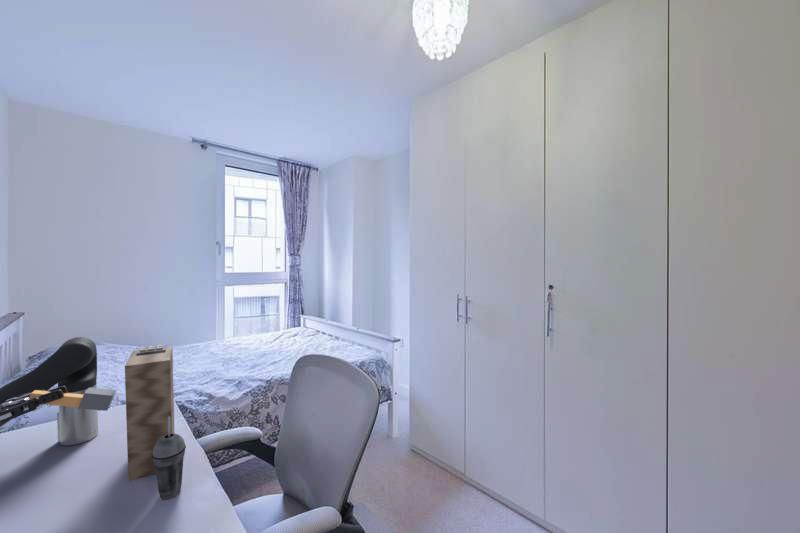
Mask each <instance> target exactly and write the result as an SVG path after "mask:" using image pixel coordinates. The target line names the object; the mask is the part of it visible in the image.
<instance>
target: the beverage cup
mask: <svg viewBox="0 0 800 533" xmlns="http://www.w3.org/2000/svg"><path fill="white" fill-rule="evenodd" d="M186 448H187V446H186V443H185V439H184V438H183V437H182V436H181V434H178V433H175V434H174V433H172V434H170V416H169V417H168V434H167V435H165V436H163V437H162V438H160V439H159V440H158V441H157V443H156V444H155V446H154V448H153V453H152V458H153V461H154V464H155V469H156V475H155V476H156V482H157V488H158V494H159V499H160V498H161V499H162V501H169V500H172V499H175V498H177V496H179V495H180V493H181V491H182V490H181V489H182V485H183V484H182V483H183V470H184V469H183V468H184V459H185V458H184V457H185V453H186ZM161 499H160V500H161Z"/></svg>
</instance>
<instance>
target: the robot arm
mask: <svg viewBox="0 0 800 533" xmlns="http://www.w3.org/2000/svg"><path fill="white" fill-rule="evenodd" d="M97 375H98V350H97V345H96V344H95V342H94V341H93V340H92V339H90V338H88V337H84V336H79V337H73V338H70V339H68V340H66V341H65V342H63V343H62V344H61V346H59V348H57V350H56V351H55V352H54V353H52V354H51V355H50V356H49V357H48V358H47V359H45V360H44V361H43V362H42V363H40V364H39V365H38V366H37V367H35V368H33V369H32V370H31V371H29V372H28V373H26V374H24V375H22V376H20V377H18V378H15V379H14V380H12V381H10V382H9V383H6V384H4V385H3V386H1V387H0V428H1V427H3V426H4V425H6V424H7V423H8V422H10V421H11V420H14V419H16V418H18V417H21V416H23V415H26V414H29V413H31V412H34V411H35V410H37V409H38V408H41V407H42V406H43V405H45V403H49V402H52V401H55V400H58V399H61V398H62V397H63V396H64V394H63V393H73V394H84V393H85V392H86V390H87V389H88V388H89V387H90V388H98V385H97V384H98V383H97V379H98V378H97V377H98V376H97ZM55 385H57V387H55V388H52V387H54V386H55ZM51 388H52V389H51ZM35 390H40V391H50V393H47V394H44V395H41V397H40V396H36V397H33V398H30V395H31V393H32V392H33V391H35ZM29 398H30V399H29ZM43 403H44V404H43ZM78 408H79V407H71V406H58V412H57V413H56V423H57V426H56V428H57V442H59V443H60V445H61V446H66V447H67V446H74V445H79V444H82V443H86V442H88V441H90V440H92V439H94V438H95V437H97V436H98V434H99V413H98V412H99V410H90V409H78Z"/></svg>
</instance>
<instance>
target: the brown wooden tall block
mask: <svg viewBox="0 0 800 533" xmlns="http://www.w3.org/2000/svg"><path fill="white" fill-rule="evenodd" d="M173 354H174V353H173V345H169V346H167V344H157V345H151V346H141V347H140V348H139V347H138V349H134V350H132V351H131V354H130V355H129V357H128V360H127V361H126V363H125V365H124V379H125V380H124V381H125V384H124V386H125V387H124V388H125V414H126V416H125V417H126V444H127V446H126V447H127V479H128V480H127V481H128V483H130V482H133V481H137V480H140V479H145V478H148V477H152V476H154V475H155V476H156V469H155V464H154V461H153V458H152V453H153V448H154V446H155V444H156V443H157V441H158V440H159V439H160V438H162V437H163V436H165V435H167V434H168V417H169V416H170V434H172V433H174V434H176V433H175V405H174V404H175V403H174V402H175V401H174V400H175V399H174V398H175V397H174V396H175V395H174V392H175V391H174V356H173Z"/></svg>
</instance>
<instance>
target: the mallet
mask: <svg viewBox="0 0 800 533" xmlns="http://www.w3.org/2000/svg"><path fill="white" fill-rule="evenodd" d="M116 392H117V389H110V388H109V389H108V388H101V387H100V388H99V387H97V388H90V387H89V388H88V389H87V390H86V392H85V393H84V394H73V393H63V394H64V396H63V397H62V398H61V399H58V400H55V401H52V402H49V403H45V404H44V403H43V405H46V406H58V407H59V406H71V407H79V408H78V409H90V410H98V411H106V412H107V411H108V410H109V408H110V407H111V405H112V402H113V399H114V398H115V394H116ZM47 393H50V391H40V390H35V391H33V392H32V393H31V395H30V398H33V397H36V396H40V397H41V395H44V394H47ZM30 398H29V399H30Z"/></svg>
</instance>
